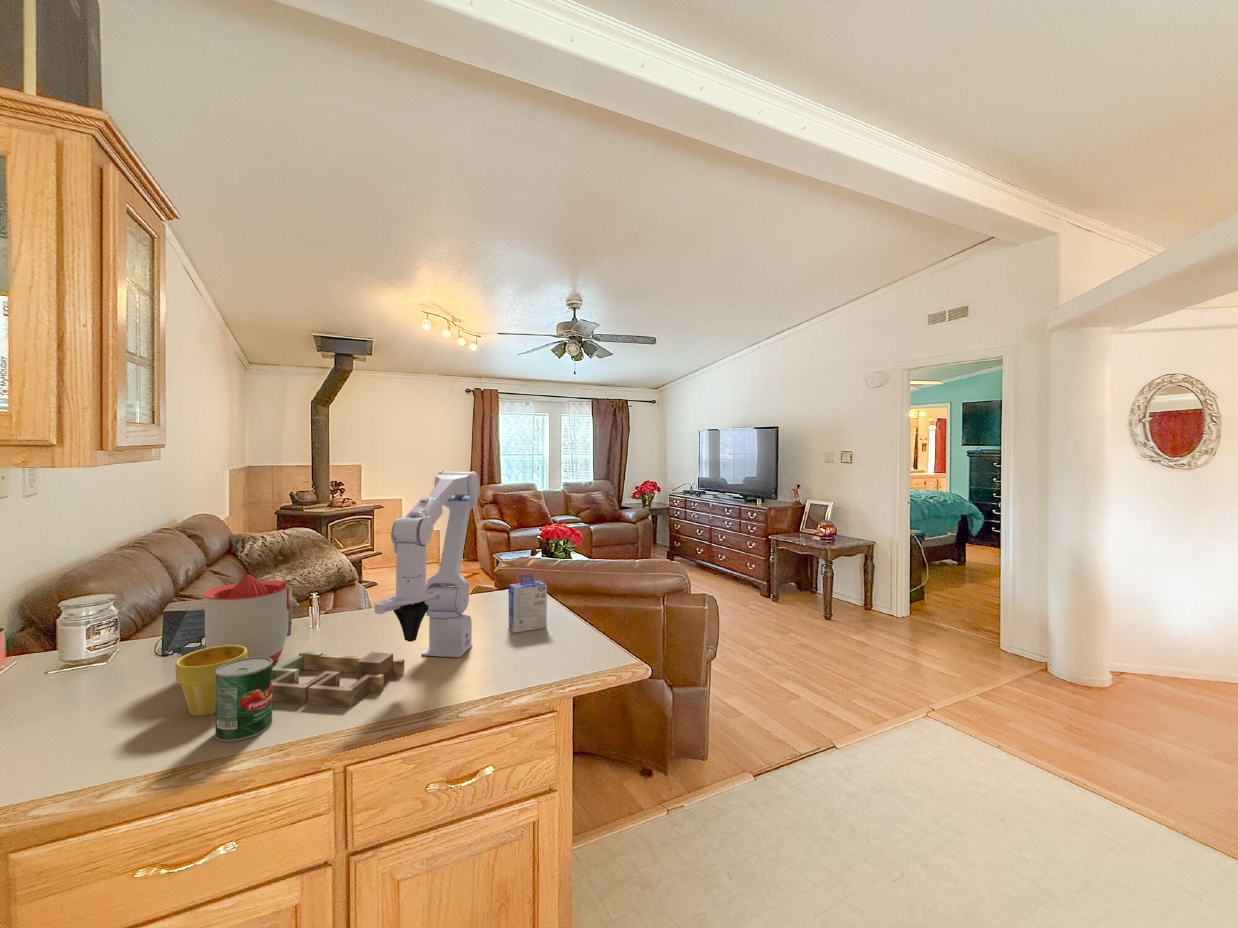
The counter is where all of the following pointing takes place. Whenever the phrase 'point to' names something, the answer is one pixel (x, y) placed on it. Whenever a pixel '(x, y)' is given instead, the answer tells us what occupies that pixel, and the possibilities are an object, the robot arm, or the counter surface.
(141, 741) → the counter surface
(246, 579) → the citrus juicer
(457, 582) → the robot arm
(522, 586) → the ink cartridge box
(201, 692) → the plant pot
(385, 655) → the walnut block
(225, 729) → the canned tomato
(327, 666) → the trap lane
